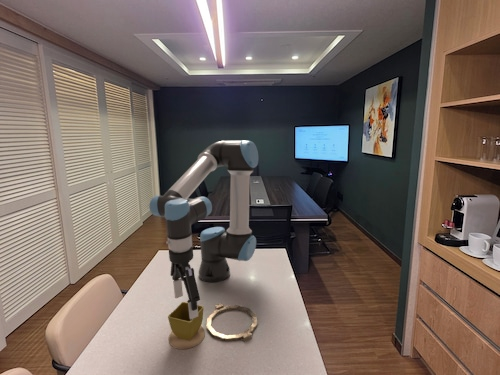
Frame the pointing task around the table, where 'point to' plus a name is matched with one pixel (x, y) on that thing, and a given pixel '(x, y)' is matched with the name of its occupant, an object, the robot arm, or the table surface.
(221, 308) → the socket ring
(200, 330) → the coaster
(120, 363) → the table surface
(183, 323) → the flower pot
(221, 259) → the robot arm
